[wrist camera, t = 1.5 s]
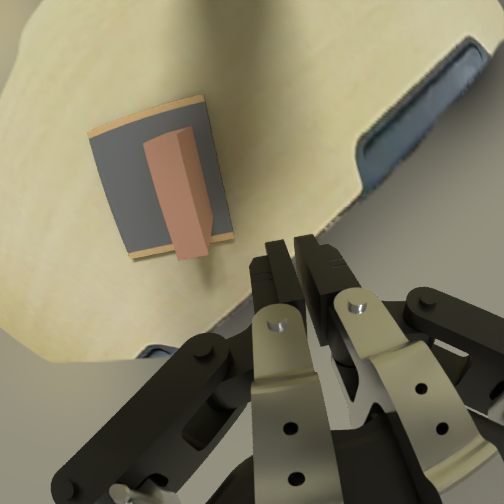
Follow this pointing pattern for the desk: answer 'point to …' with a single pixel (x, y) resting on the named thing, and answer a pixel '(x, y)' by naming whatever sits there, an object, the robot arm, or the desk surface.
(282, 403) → the robot arm
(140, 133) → the mat
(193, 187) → the slab
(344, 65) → the desk surface
